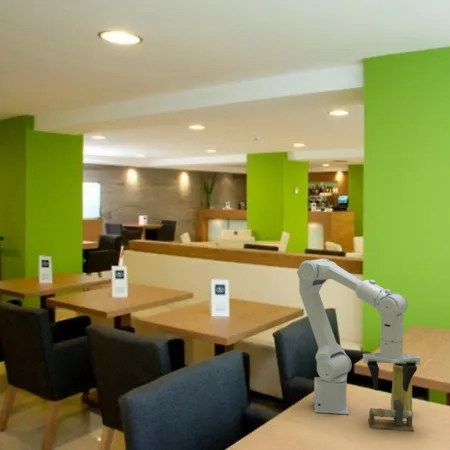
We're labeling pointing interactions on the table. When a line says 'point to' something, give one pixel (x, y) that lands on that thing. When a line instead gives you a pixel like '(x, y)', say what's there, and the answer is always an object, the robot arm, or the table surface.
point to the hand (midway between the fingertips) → (390, 389)
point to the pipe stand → (389, 423)
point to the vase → (400, 389)
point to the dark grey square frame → (398, 412)
